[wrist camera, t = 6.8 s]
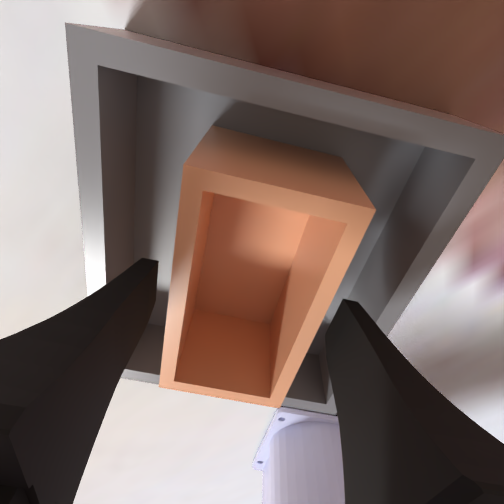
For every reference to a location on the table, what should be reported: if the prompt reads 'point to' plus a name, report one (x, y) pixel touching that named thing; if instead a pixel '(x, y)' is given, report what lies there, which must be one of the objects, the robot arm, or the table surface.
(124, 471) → the table surface
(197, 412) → the table surface
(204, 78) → the big crate
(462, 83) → the table surface
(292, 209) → the box
